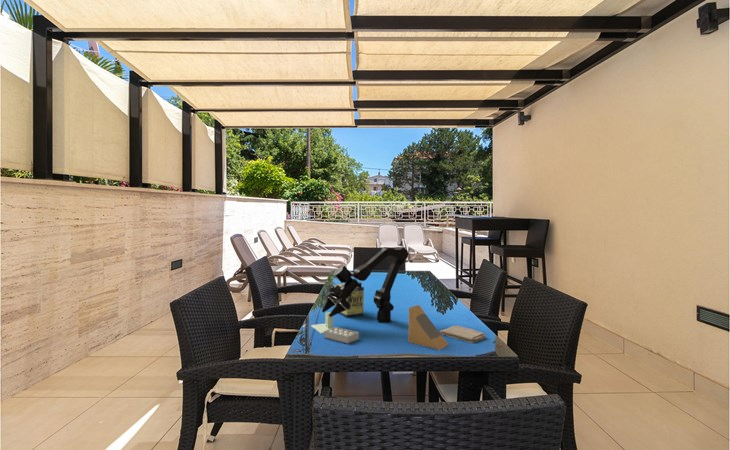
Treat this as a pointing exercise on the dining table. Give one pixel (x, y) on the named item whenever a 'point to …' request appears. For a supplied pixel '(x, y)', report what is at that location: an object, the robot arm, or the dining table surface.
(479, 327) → the dining table surface
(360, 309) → the protein box
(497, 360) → the dining table surface
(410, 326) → the sandwich container
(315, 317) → the dining table surface
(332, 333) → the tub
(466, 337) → the washcloth
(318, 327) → the pale green grooved stand
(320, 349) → the dining table surface
